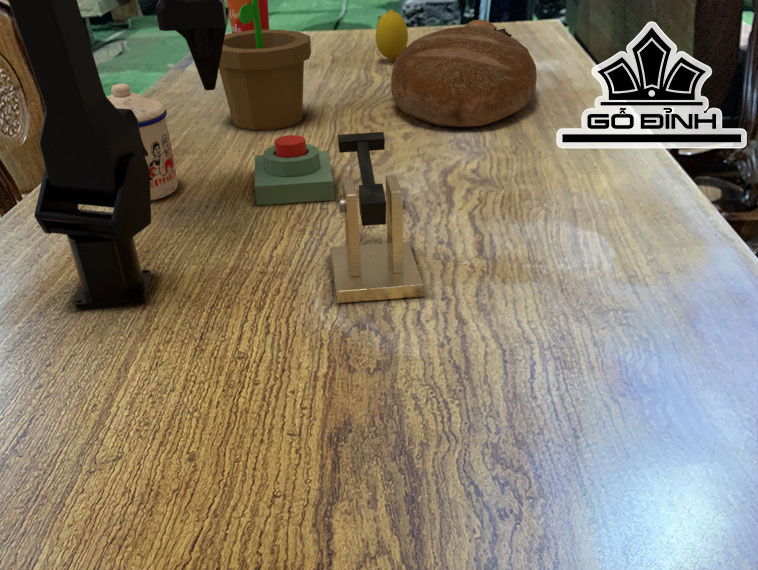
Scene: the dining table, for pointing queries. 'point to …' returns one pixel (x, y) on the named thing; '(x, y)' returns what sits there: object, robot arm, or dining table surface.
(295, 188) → the control block
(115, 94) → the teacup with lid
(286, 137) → the button
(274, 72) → the flowerpot
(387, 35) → the lemon
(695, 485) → the dining table surface
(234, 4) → the paper cup
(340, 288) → the lever base
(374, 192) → the press lever
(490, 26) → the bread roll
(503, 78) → the bread
